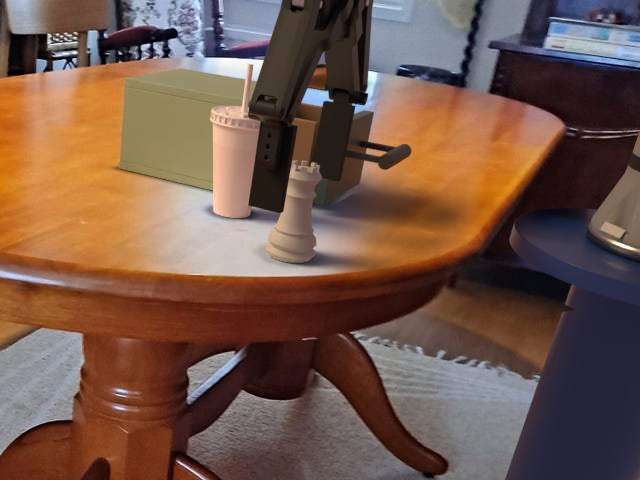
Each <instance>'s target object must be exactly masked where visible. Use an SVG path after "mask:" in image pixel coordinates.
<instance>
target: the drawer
mask: <svg viewBox="0 0 640 480" xmlns="http://www.w3.org/2000/svg"><path fill="white" fill-rule="evenodd" d="M322 106H323V105H316V104H311V103H305V102H301V105H300V107H299V109H298V112H297V114H296V116H295V118H294V121H293V123H292V125H295V126H298V129H297V134H296V140H295V146H294V152H293V158H292V161H294V160H297V161H298V166H301V163H302V160H303V161H308V163H307V166H308V167H311V163H312V162H313V156H314V151H315V145H316V140H317V134H318V129H319V123H320V118H321V112H322ZM374 115H375V112H374V111H371V110H365V109H363V110H361V111H358V112H356V113H354V117H353V122H352V127H351V132H350V137H349V142H348V147H347V152H346V157H345V162H344V167H343V172H342V177H341V180H340V181H338V182H337V181H333V180H329V179H324V178H322V180H321V181H320V182H319V183H318V184H317V185H316V186H315V193H316V197H315V198H314V199H313V204H316V205H321V206H325V205H327V204H329V203H330V202H332V201H334V200H336V199H337V198H339V197H340V196H342V195H344V194H345V193H347V192H349V191H351V190H353V189H354V188H355V187H357V186H359V185H360V184H361V179H362V173H363V171H364V170H363V169H364V164H365V162H370V163H375V164H377V165H378V167H379V169H381V170H383V171H387V170H389V169H391V168H393V167H394V166H396V165H398V164H399V163H402V162H403V161H404V160H406V159H407V158H409V157H410V156H411V155H412V147H411V146H410V145H409V144H407V143H402V144H399V145H398V146H392V145H387V144H382V143H377V142H373V141H369V140H370V135H371V129H372V124H373V119H374ZM367 149H369V150H373V151H378V152H384V153H383V154H381V155H380V156H379V155H374V154H369V153H367Z"/></svg>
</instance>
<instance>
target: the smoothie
mask: <svg viewBox="0 0 640 480" xmlns="http://www.w3.org/2000/svg"><path fill="white" fill-rule="evenodd" d="M253 71H254V64H253V63H247V65H246V73H245V79H246V80H245V87H244V95H243V103H242V106H218V107H214V108H213V109H211V117H210V121H211V122H213V190H212V212H213V213H215V214H216V215H217V216H222V217H225V218H231V219H244V218H249V216H250V215H251V213H252V208H253V207H252V206H248V203H249V196H250V189H251V183H252V176H253V169H254V162H255V156H256V149H257V142H258V135H259V129H260V122H261V121H257V120H252V119H249V117H248V111H249V107H248V103H249V96H250V88H251V80H252V81H253Z"/></svg>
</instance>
